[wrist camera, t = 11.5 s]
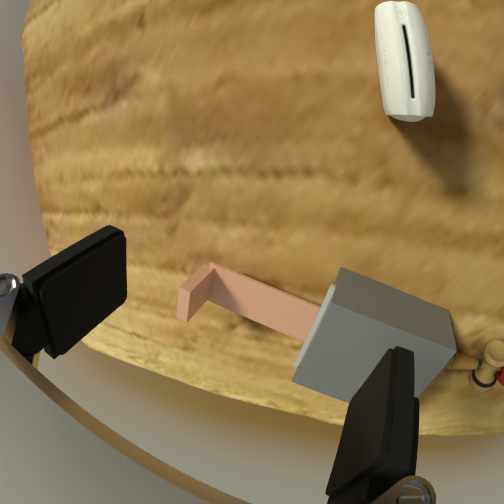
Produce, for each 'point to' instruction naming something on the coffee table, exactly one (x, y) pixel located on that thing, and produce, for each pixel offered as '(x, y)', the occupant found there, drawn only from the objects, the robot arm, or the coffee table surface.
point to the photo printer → (404, 61)
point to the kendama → (482, 366)
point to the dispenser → (371, 336)
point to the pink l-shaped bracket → (246, 300)
